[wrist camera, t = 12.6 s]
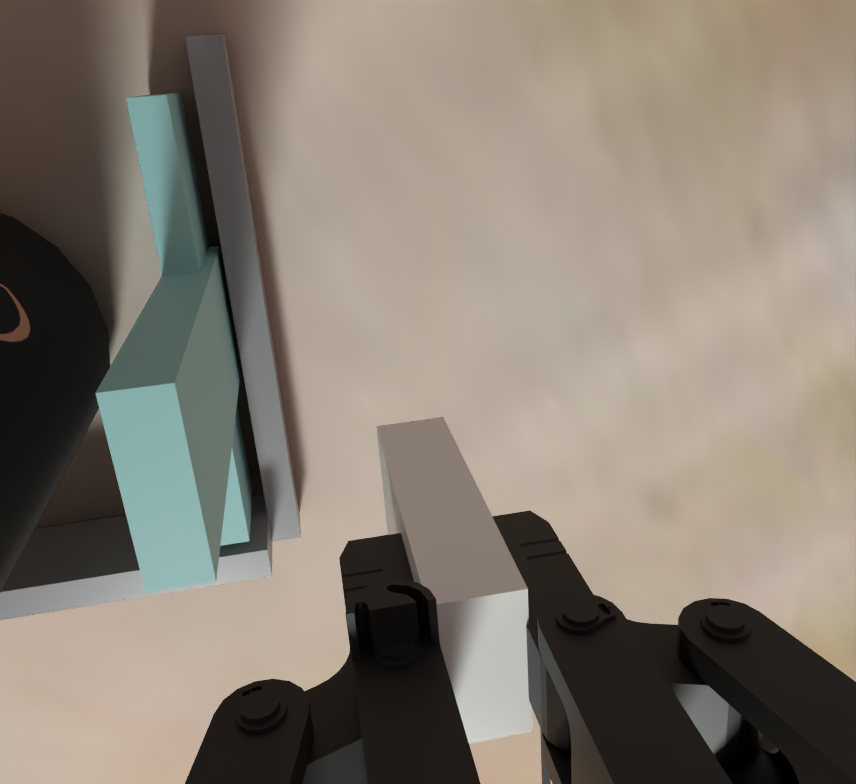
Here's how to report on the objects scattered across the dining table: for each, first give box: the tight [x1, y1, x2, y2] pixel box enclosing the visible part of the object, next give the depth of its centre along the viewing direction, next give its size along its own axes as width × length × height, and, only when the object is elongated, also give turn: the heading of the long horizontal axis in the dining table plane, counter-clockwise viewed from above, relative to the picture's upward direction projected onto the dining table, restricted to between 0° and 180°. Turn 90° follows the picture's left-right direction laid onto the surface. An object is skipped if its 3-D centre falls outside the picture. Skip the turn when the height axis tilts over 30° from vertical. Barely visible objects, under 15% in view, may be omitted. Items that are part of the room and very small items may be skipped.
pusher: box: [95, 93, 252, 593], centre depth 24 cm, size 16×2×15 cm, turn 4°
